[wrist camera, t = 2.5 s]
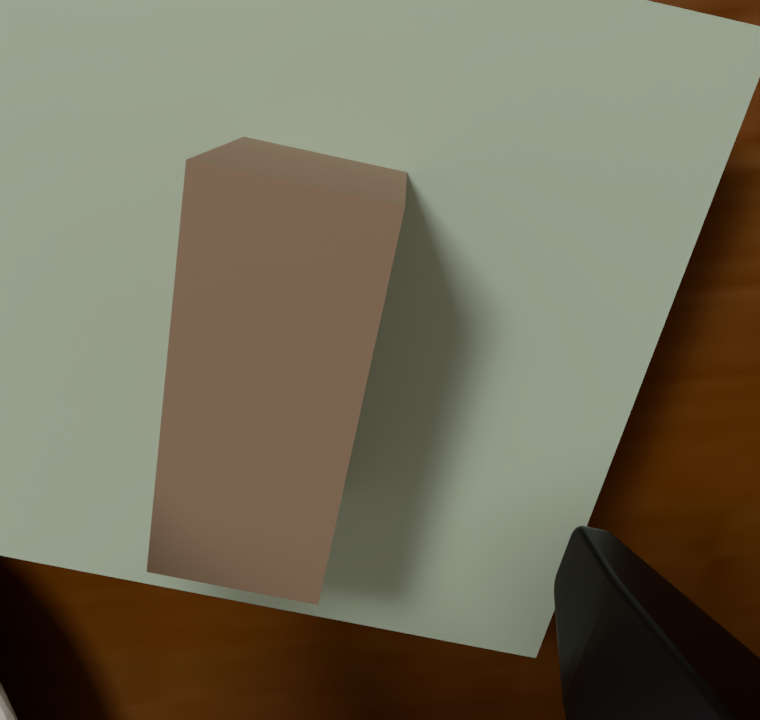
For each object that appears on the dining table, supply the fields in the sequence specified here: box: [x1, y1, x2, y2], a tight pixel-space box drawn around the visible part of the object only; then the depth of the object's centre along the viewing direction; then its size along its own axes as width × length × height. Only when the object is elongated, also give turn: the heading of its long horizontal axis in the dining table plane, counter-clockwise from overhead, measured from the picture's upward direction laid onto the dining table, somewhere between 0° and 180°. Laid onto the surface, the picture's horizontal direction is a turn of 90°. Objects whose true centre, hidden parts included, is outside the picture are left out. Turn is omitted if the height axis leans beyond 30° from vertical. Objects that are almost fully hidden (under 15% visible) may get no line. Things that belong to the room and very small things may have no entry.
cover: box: [0, 0, 760, 658], centre depth 13 cm, size 14×14×4 cm
